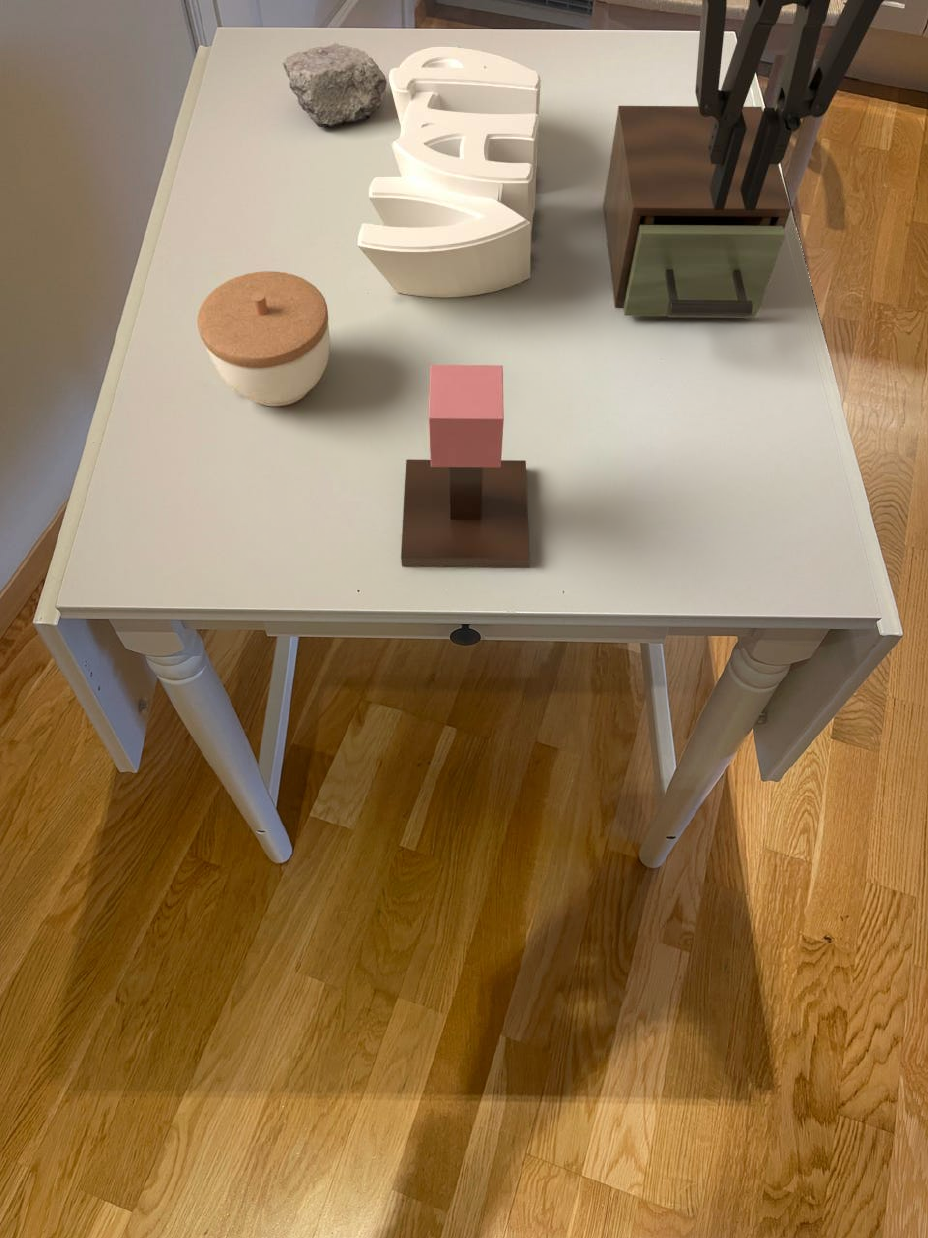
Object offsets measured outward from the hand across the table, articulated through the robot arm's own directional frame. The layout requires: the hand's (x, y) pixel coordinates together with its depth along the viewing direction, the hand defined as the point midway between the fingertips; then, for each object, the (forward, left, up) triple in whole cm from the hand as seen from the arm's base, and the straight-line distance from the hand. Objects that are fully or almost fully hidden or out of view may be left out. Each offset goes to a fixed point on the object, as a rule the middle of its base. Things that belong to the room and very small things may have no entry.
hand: (732, 198), depth 70 cm
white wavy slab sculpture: (+29, -2, -15) cm, 32 cm away
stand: (+4, +29, -14) cm, 33 cm away
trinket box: (+27, +27, -15) cm, 41 cm away
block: (+4, +29, -5) cm, 30 cm away
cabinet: (+7, -10, -14) cm, 19 cm away
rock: (+51, -9, -15) cm, 54 cm away
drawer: (+4, -5, -14) cm, 15 cm away
